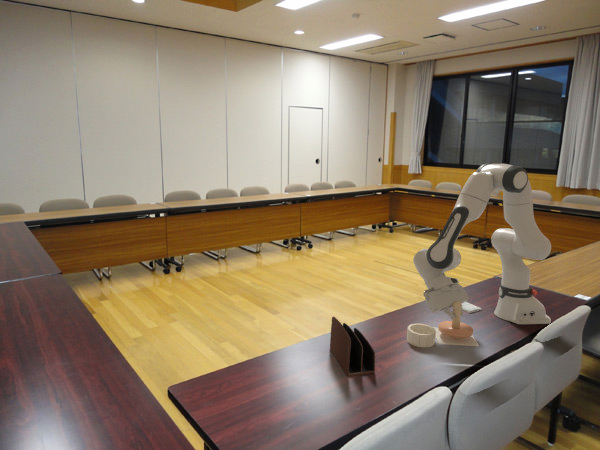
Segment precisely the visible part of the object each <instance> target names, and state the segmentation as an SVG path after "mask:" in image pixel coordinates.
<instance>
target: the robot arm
mask: <svg viewBox="0 0 600 450" xmlns="http://www.w3.org/2000/svg"><path fill="white" fill-rule="evenodd" d="M531 185H532V184H531V181H530V180H529V175H528V173H527V170H526V169H525V168H523V167H522V166H519V165H516V164H515V165H512V164H509V163H508V164H507V163H491V162H489V163H484V164H481V165H480V166H478V168H477V169H476V171H475V172H473V173H471V174H470V176H469V177H468V179H467V180H466V182H465V184H464V185H463V187H462V189H461V191H460V193H459V195H458V198H457V200H456V202H455V205H454V207H453V209H452V211H451V214H450V215H449V217H448V219H447V221H446V223H445V224H444V226H443V228H442V230H441V233H440V234H439V236H438V238H437V239H436V240H435V241H434V242H433V243H432V244H431V245H430V246H429V247H428V248H422V249H420V250H419V251H417V252H416V253H415V254H414V256H413V264H414V267H415V269H416V270H417V272H418V274H419V276H420V277H421V279H423V281H424V285H425V286H426V288H427V289H425V290H424V291H423V296H424V299H425V302H426V305H427V307H428V309H429V310H430V312H432V313H433V314H434V313H437V312H441V311H444V313H445V314H447V315H448V316H449V317H450V319H451V320H452V319H454V318H456V315H455V313H453V310H452V311H451V308H453V306H452V305H453V303H454V302H456V301H458V302H460V303H461V304H462V303H464V302H468V301H469V295H468V293H467V292H466V290H465V289H464V288H463V286H462V285H461V284H460V281H459V279H458V278H457V277H450V276H446V272H449V271H451V270H455V269H457V267H459V266H460V264H461V262H462V255H461V253H460V252H459V250H457V248H454V247H455V244H456V242H457V240H458V238H459V236H460V234H461V232H462V230H463V229H464V227H465V226H466V225H467V224H469V223H470V222H474V221H476V220H478V219H479V218H480V217H481V216H482V214H483V213H484V211H485V209H486V207H487V205H488V203H489V201H490V198H491V195H492V193H493V192H494V191H496V192H503V193H502V194H503V195H502V203H503V218H504V221H505V222H506V223H507V224H508V225H509V226H510V227H511V228H508V227H506V228H505V227H504V228H503V227H502V228H500V227H499V228H498V229H496V230H495V231H494V232H493V233H492V234H491V238H490V241H491V245H492V247H493V248H494V249H495V251H496V252H497V253H498V255H499V259H500V262H501V267H502V268H501V269H502V271H501V282H500V284H499V289H498V300H497V304H496V307H495V309H494V312H493V314H494V315H495V316H496V317H498V318H499V319H502V320H504V321H507V322H512V323H514V324H517V325H546V324H547V325H549V324H551V323H552V320H551V317H550V316H549V315H547V314H546V307H545V305H544V304H543V303H542V302H541V301H539V300H538V298H536V297H535V296H537V295H538V291H537V290H536V289H533V288H532V287H530V282H531V274H532V273H531V272H532V271H531V269H530V267H529V266H528V265H527V264H526V263H525V262H524V259H523V258H525V259H529V260H538V261H543V260H545V259H546V258H547V257H549V256H550V254H551V251H552V244H551V241H550V239H549V238H548V237H547V236H545V235H544V233H542V231H541V229H540V228H539V227H538V226H539V225H538V224H537V222H536V219H535V216H534V202H533V200H534V198H533V191H532V187H531ZM462 316H464V311H463V310H462V309H461V317H462Z"/></svg>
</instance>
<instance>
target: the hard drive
mask: <svg viewBox="0 0 600 450" xmlns="http://www.w3.org/2000/svg"><path fill="white" fill-rule="evenodd" d="M479 310H480V311H482V310H483V309H482V307H480V306H478V305H477V306H476V305H474V304H472V303H470V302H468V301H466V302H464V303H462V312H466V313H468V314H472V313H475V312H479Z"/></svg>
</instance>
